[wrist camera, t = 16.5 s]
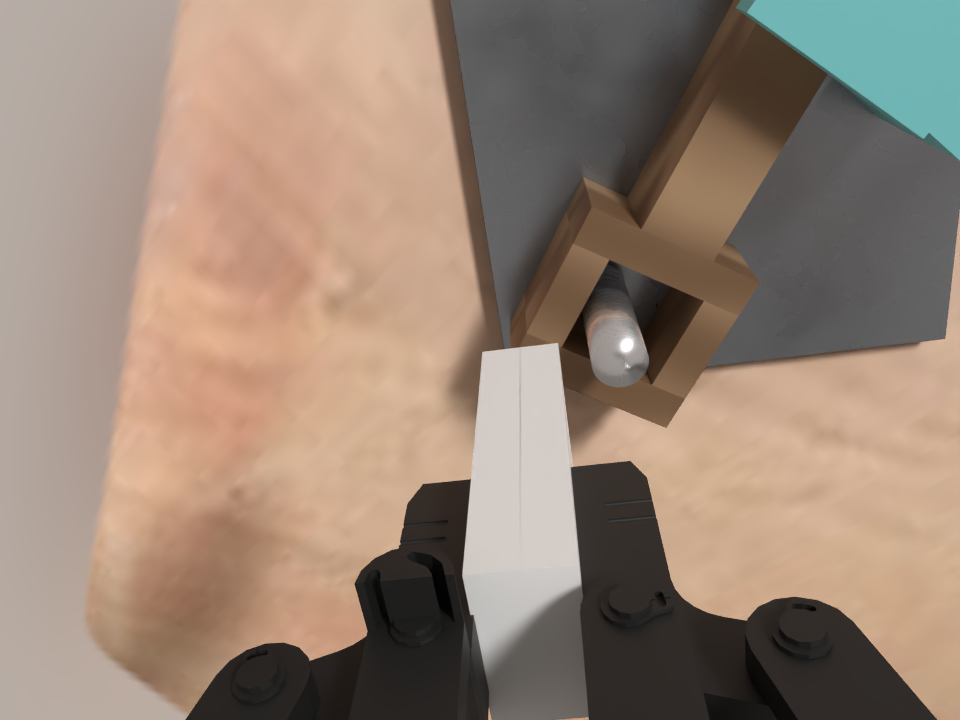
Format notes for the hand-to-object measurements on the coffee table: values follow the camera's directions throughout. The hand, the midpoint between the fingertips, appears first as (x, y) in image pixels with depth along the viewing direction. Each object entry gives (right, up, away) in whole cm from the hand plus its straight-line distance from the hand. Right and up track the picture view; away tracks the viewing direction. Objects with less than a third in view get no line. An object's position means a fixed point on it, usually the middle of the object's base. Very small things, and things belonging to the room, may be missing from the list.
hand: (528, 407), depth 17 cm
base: (+8, +10, +17) cm, 21 cm away
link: (+7, +9, +16) cm, 20 cm away
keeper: (+11, +14, +15) cm, 23 cm away
